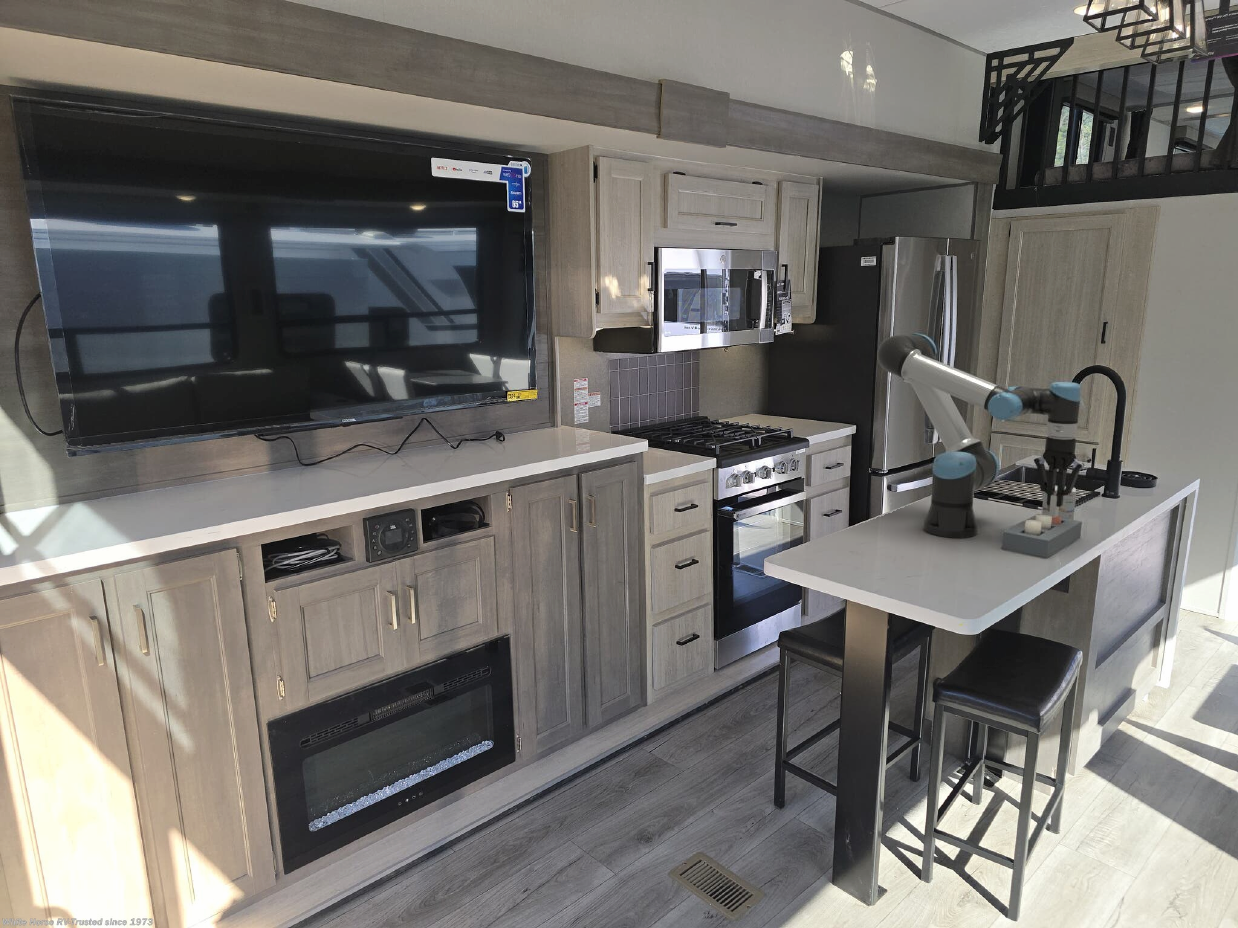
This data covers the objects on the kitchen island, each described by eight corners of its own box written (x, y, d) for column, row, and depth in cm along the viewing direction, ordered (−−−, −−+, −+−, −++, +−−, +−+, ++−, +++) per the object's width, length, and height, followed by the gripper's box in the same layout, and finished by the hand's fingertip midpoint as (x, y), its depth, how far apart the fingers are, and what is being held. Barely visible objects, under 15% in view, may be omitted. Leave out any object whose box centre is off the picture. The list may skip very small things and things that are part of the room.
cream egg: (1047, 535, 221) (1048, 519, 220) (1032, 532, 224) (1033, 516, 223) (1052, 532, 224) (1054, 516, 223) (1037, 529, 227) (1039, 513, 226)
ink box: (1040, 525, 241) (1044, 488, 239) (1040, 521, 246) (1044, 484, 243) (1072, 528, 237) (1076, 490, 235) (1072, 524, 242) (1076, 487, 239)
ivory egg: (1036, 541, 216) (1038, 524, 215) (1021, 538, 219) (1022, 521, 218) (1042, 538, 219) (1043, 521, 218) (1027, 535, 222) (1028, 518, 221)
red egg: (1056, 536, 226) (1058, 520, 225) (1041, 533, 229) (1043, 517, 228) (1061, 533, 229) (1063, 517, 228) (1047, 530, 232) (1048, 514, 231)
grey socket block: (1046, 558, 212) (1048, 540, 211) (1001, 548, 221) (1002, 531, 220) (1080, 537, 228) (1081, 521, 227) (1036, 529, 237) (1038, 513, 236)
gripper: (1031, 436, 225) (1024, 515, 230) (1081, 441, 216) (1073, 523, 221) (1042, 432, 230) (1034, 509, 235) (1091, 437, 221) (1082, 518, 226)
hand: (1053, 516), depth 228 cm, fingers closed
